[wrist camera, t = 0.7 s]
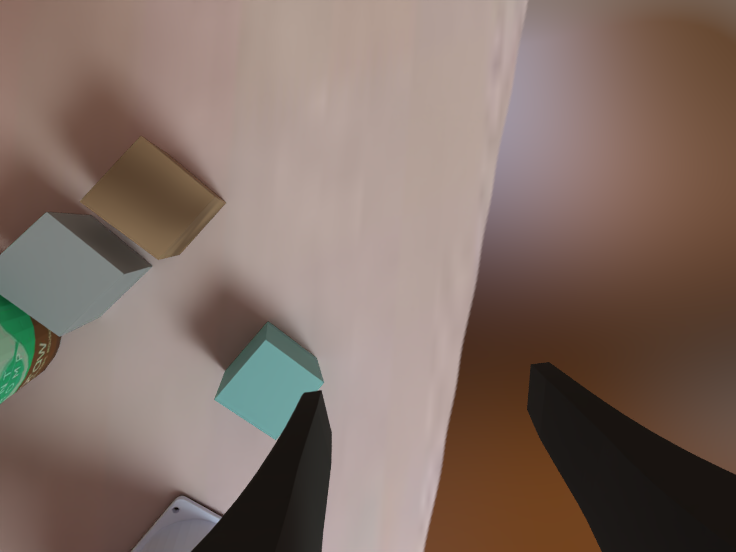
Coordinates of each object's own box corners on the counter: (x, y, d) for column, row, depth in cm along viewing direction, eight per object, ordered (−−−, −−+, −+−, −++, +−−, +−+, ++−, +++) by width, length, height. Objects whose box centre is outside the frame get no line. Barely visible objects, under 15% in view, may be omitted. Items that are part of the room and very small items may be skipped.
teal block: (276, 405, 29) (275, 440, 25) (225, 370, 28) (214, 399, 23) (316, 357, 30) (324, 382, 25) (268, 321, 28) (265, 339, 24)
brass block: (180, 254, 26) (158, 259, 22) (117, 207, 25) (79, 201, 20) (226, 202, 27) (214, 196, 22) (167, 153, 25) (140, 135, 21)
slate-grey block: (100, 316, 26) (59, 336, 21) (35, 267, 24) (-25, 277, 20) (153, 266, 26) (124, 274, 21) (91, 215, 25) (46, 211, 20)
